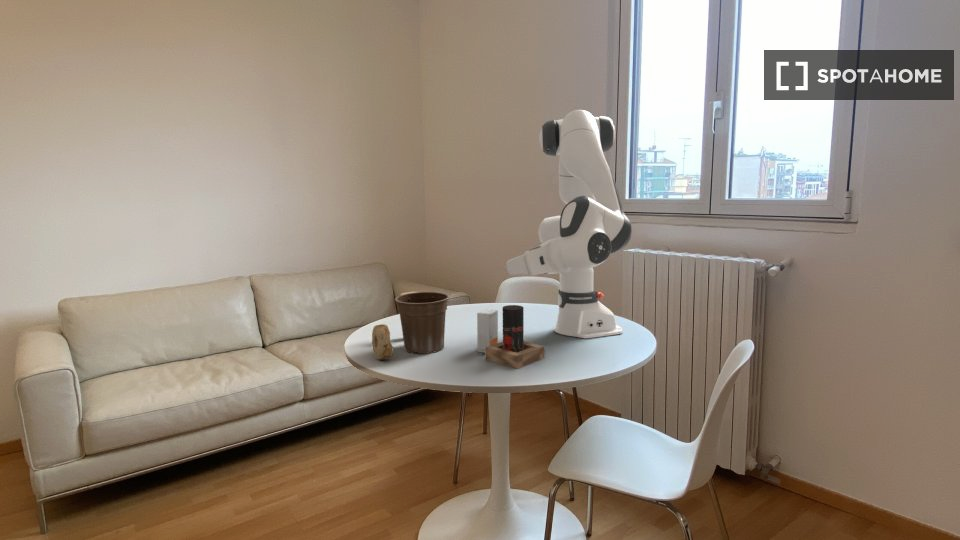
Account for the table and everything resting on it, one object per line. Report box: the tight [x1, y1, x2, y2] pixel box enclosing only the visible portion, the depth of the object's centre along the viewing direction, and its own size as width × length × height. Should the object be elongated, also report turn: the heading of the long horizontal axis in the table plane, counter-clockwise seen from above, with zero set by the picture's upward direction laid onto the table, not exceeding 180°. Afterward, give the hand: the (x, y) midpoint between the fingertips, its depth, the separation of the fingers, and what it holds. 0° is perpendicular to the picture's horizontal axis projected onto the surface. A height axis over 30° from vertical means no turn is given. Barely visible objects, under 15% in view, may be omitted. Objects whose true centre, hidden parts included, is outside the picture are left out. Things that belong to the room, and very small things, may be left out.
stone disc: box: [371, 323, 394, 361], centre depth 156 cm, size 10×4×10 cm, turn 29°
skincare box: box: [476, 308, 499, 353], centre depth 163 cm, size 6×4×12 cm
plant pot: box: [394, 291, 450, 355], centre depth 166 cm, size 16×16×16 cm
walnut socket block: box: [484, 341, 546, 369], centre depth 155 cm, size 12×12×4 cm
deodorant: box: [502, 304, 525, 353], centre depth 155 cm, size 6×6×15 cm
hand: (525, 262), depth 149 cm, fingers open, 8 cm apart
